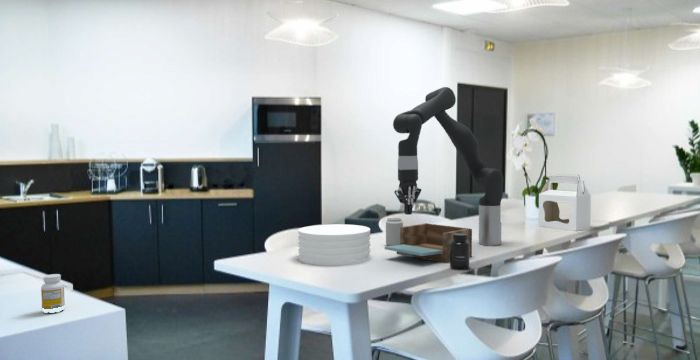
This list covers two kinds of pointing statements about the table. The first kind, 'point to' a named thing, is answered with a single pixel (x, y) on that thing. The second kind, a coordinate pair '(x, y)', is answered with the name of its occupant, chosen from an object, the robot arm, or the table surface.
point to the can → (393, 231)
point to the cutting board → (412, 250)
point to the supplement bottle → (459, 252)
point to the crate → (433, 239)
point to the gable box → (577, 199)
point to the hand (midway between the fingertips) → (408, 214)
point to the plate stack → (334, 244)
